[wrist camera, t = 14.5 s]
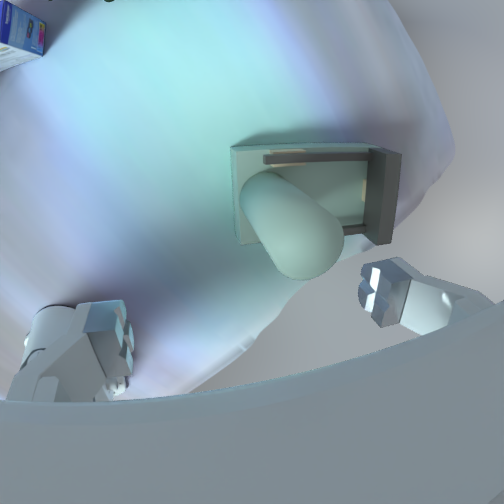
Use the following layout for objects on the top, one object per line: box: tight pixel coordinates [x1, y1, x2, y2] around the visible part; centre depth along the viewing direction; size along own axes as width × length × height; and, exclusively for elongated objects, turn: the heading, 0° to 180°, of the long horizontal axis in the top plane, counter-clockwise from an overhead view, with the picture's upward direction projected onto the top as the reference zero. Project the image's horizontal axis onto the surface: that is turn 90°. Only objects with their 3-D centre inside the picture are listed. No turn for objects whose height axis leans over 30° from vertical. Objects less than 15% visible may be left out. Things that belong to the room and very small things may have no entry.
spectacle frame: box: [263, 148, 402, 245], centre depth 37 cm, size 12×16×4 cm
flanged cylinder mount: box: [230, 143, 381, 280], centre depth 36 cm, size 12×20×18 cm, turn 92°
